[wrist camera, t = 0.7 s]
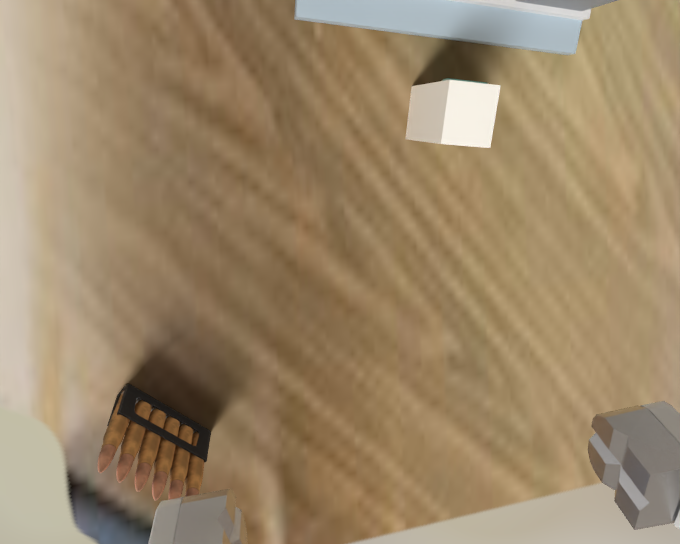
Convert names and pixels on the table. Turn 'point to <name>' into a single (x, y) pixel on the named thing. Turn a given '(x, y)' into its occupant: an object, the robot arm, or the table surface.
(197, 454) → the ammunition clip
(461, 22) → the twin block stand
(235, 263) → the table surface
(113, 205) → the table surface
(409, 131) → the block
